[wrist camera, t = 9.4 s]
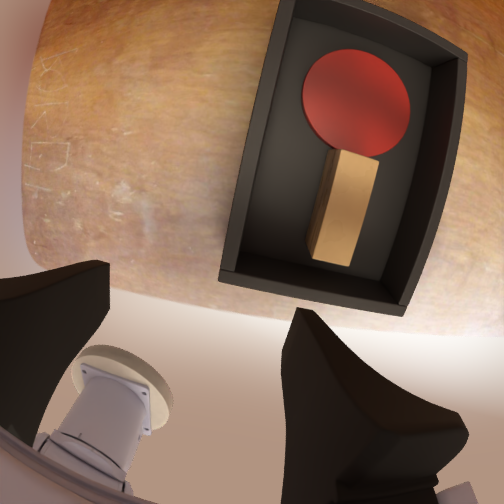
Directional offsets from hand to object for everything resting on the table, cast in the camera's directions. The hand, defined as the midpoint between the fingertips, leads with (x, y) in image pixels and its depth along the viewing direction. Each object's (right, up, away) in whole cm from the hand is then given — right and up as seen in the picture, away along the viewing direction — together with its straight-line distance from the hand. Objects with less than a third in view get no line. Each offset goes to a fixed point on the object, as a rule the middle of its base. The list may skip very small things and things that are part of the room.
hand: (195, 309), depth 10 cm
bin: (+8, +9, +6) cm, 13 cm away
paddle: (+8, +8, +6) cm, 13 cm away
